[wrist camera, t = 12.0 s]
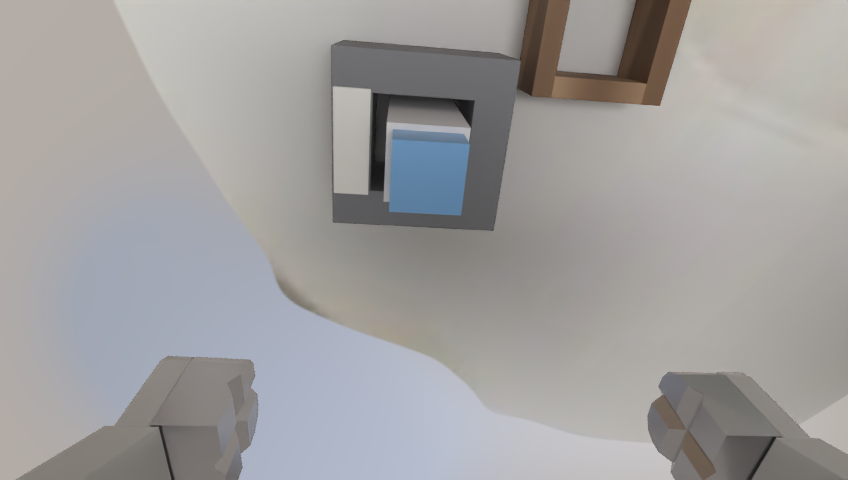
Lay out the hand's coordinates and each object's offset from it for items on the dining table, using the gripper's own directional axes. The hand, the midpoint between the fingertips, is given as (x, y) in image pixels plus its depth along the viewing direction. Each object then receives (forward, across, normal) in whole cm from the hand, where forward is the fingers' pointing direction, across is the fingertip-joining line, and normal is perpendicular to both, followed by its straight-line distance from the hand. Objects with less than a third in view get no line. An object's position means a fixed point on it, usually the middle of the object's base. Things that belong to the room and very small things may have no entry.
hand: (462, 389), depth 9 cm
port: (+25, 0, 0) cm, 25 cm away
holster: (+25, +10, +7) cm, 28 cm away
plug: (+25, 0, 0) cm, 25 cm away
